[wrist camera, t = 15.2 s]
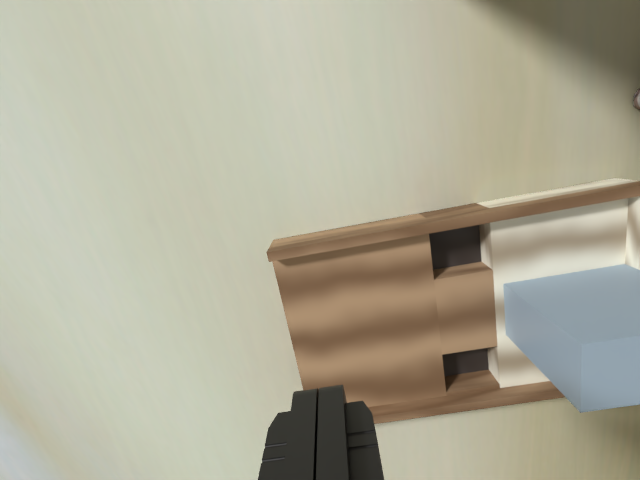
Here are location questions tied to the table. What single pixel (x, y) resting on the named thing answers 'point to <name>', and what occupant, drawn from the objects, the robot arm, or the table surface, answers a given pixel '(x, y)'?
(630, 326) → the block
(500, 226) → the board
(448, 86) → the table surface
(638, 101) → the flask
